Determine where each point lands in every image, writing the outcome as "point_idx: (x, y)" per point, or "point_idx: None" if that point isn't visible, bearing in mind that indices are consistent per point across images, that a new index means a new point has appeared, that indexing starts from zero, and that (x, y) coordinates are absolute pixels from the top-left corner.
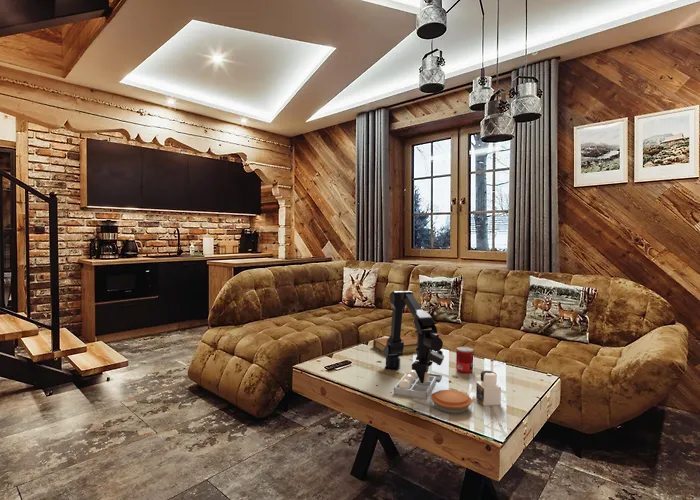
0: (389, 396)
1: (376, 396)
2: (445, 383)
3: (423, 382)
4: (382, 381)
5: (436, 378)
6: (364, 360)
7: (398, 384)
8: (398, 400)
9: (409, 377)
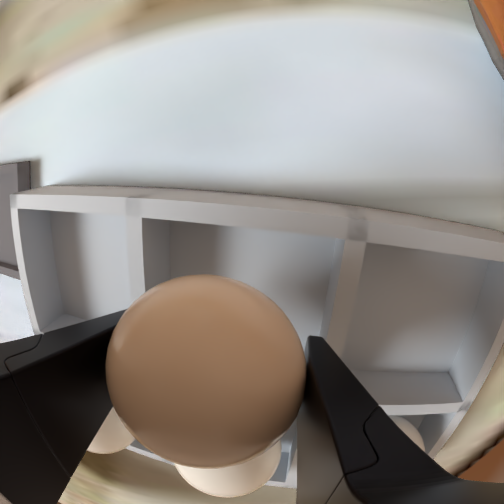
0: (441, 457)
1: None
2: (45, 104)
3: (314, 337)
4: None
5: (2, 196)
6: None
7: None
8: (500, 408)
9: (252, 476)
